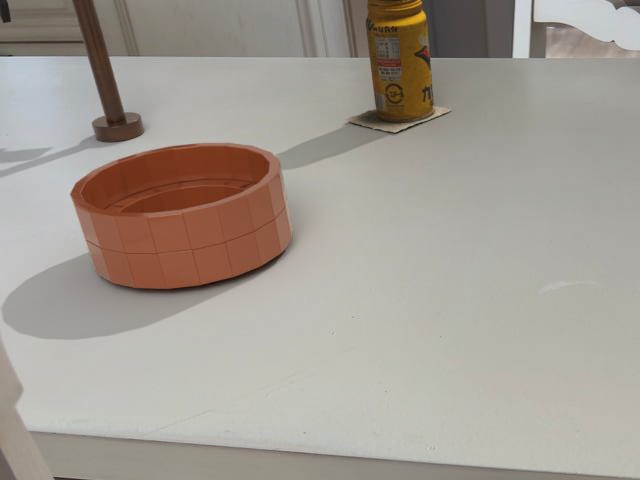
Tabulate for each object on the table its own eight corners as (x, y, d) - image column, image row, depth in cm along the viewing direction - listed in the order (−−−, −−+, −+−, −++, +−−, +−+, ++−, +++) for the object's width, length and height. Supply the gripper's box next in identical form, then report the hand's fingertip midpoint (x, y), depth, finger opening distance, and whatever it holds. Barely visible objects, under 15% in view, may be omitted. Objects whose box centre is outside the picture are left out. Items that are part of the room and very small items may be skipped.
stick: (87, 142, 105) (35, -28, 95) (109, 126, 109) (62, -39, 99) (131, 142, 104) (83, -30, 94) (152, 126, 108) (108, -41, 98)
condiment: (452, 111, 105) (442, -20, 97) (395, 134, 100) (379, -2, 93) (402, 101, 109) (388, -26, 101) (344, 123, 104) (326, -9, 97)
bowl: (58, 293, 76) (30, 215, 73) (148, 213, 88) (128, 142, 84) (252, 299, 74) (234, 218, 70) (319, 215, 85) (306, 142, 81)
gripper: (112, -172, 110) (191, 3, 110) (-134, -142, 101) (-49, 49, 101) (111, -234, 103) (196, -47, 103) (-154, -208, 94) (-62, -3, 94)
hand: (75, 1), depth 102 cm, fingers open, 13 cm apart
